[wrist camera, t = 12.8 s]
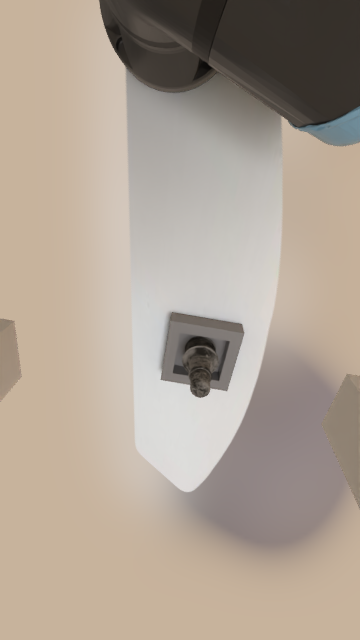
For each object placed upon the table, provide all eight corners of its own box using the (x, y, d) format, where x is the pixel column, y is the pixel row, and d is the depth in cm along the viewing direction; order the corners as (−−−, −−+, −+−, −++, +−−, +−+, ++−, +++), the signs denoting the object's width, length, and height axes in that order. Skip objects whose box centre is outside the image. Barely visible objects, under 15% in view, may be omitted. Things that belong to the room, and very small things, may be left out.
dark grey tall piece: (193, 368, 53) (191, 418, 43) (176, 343, 51) (170, 389, 41) (223, 355, 52) (229, 404, 41) (207, 329, 50) (209, 373, 39)
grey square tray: (172, 312, 49) (170, 320, 46) (241, 324, 49) (244, 333, 47) (162, 369, 54) (160, 379, 52) (225, 380, 55) (227, 391, 52)
